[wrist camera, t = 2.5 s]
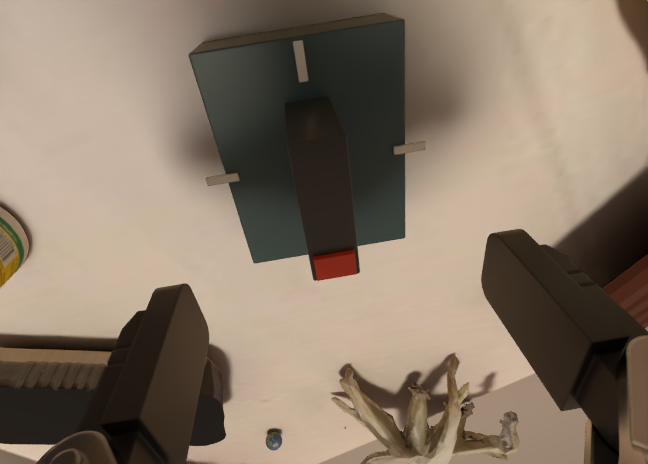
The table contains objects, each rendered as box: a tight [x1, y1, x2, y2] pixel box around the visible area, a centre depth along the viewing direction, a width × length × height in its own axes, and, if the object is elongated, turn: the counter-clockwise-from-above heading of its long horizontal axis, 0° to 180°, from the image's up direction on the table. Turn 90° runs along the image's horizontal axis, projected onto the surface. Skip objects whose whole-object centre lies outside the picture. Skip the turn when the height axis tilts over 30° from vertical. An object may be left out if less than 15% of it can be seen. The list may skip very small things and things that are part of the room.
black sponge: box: [0, 348, 226, 446], centre depth 26 cm, size 16×8×4 cm, turn 78°
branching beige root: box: [331, 356, 519, 464], centre depth 31 cm, size 9×16×15 cm
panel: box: [189, 13, 425, 263], centre depth 17 cm, size 10×10×3 cm
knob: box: [284, 97, 360, 281], centre depth 14 cm, size 6×2×5 cm, turn 8°
